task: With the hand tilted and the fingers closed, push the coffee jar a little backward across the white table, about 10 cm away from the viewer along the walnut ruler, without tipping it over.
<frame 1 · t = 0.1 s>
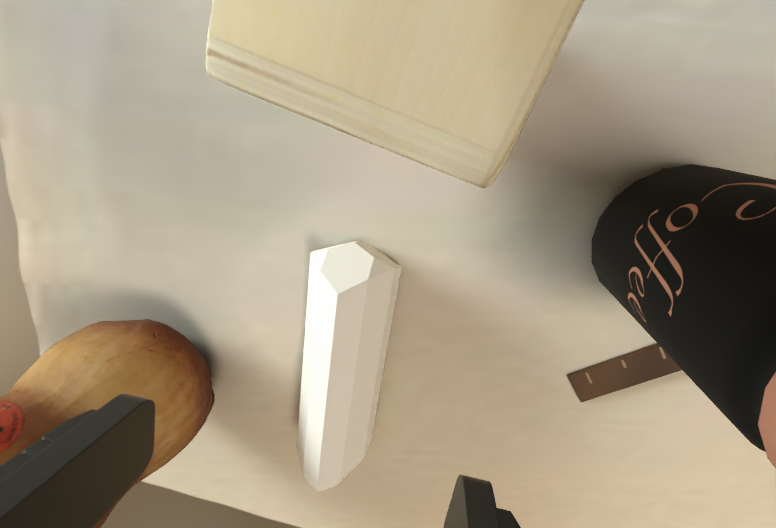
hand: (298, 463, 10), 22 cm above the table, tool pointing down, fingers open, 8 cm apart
coffee jar: (660, 235, 28), on the table
crystal: (347, 349, 36), on the table
beige tall block: (431, 60, 26), on the table
walnut ruler: (662, 357, 32), on the table
butternut squash: (172, 351, 39), on the table
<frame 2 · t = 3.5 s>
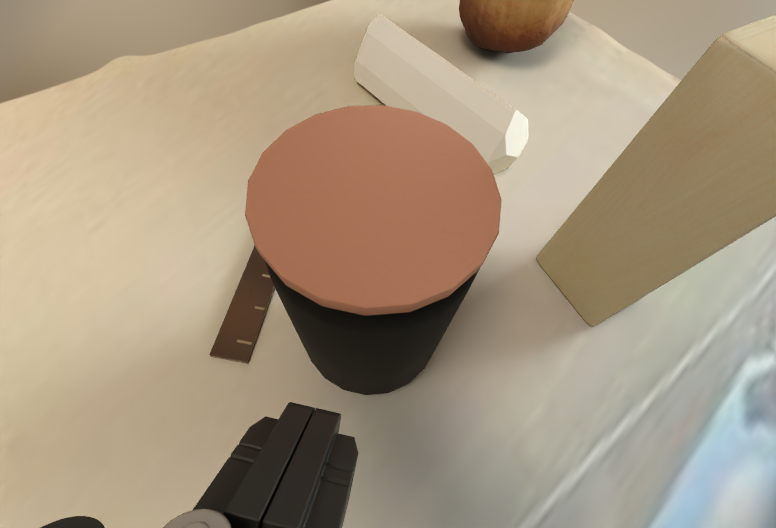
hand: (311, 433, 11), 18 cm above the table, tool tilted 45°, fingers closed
coffee jar: (370, 331, 32), on the table
crystal: (431, 117, 45), on the table
beige tall block: (590, 277, 35), on the table
walnut ruler: (261, 276, 33), on the table
butternut squash: (500, 46, 52), on the table
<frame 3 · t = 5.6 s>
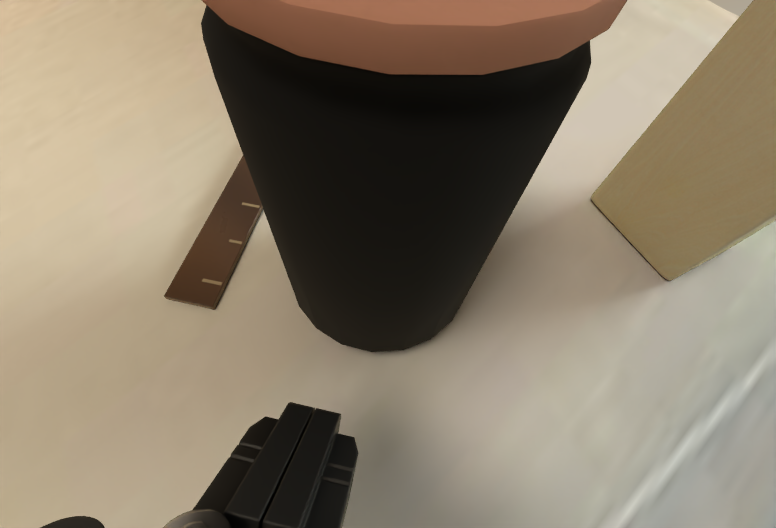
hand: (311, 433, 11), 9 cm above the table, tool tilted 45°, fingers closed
coffee jar: (379, 276, 24), on the table
beige tall block: (660, 224, 28), on the table
walnut ruler: (241, 206, 26), on the table
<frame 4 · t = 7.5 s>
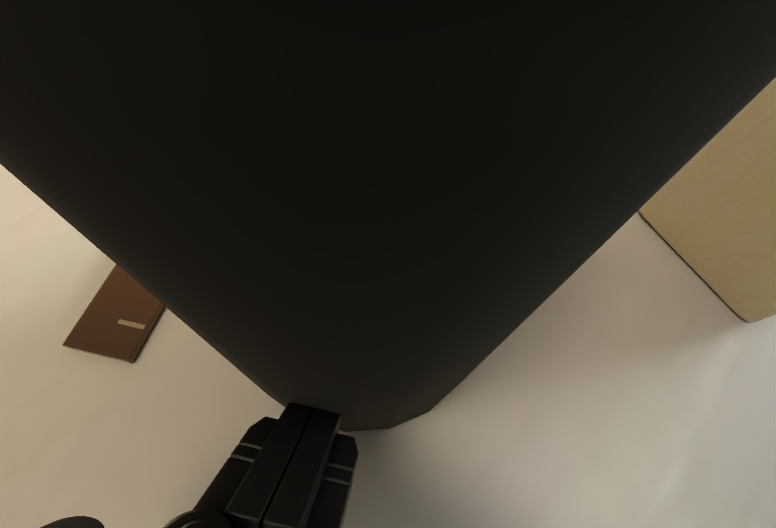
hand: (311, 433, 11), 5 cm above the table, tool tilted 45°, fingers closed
coffee jar: (362, 313, 18), on the table, touching gripper
beige tall block: (728, 243, 21), on the table
walnut ruler: (183, 218, 20), on the table
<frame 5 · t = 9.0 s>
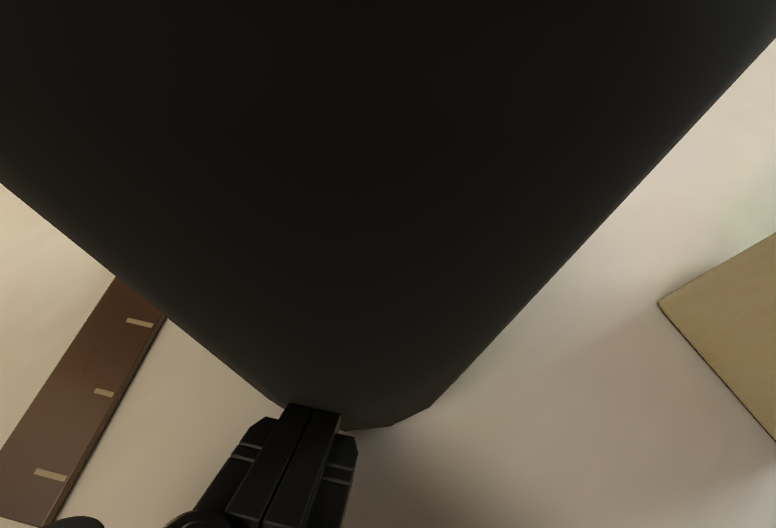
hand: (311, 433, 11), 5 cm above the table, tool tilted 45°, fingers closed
coffee jar: (358, 313, 18), on the table, touching gripper
beige tall block: (764, 344, 18), on the table
walnut ruler: (128, 322, 17), on the table
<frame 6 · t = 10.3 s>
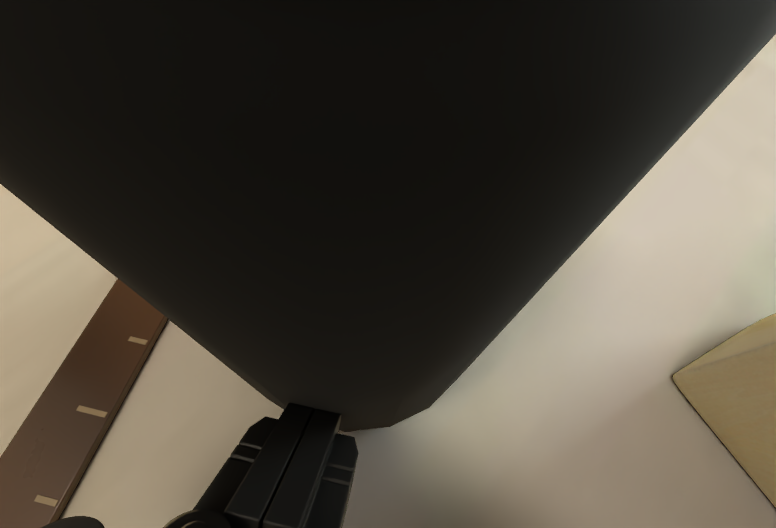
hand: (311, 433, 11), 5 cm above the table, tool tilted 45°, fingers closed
coffee jar: (358, 313, 18), on the table, touching gripper
walnut ruler: (80, 408, 15), on the table
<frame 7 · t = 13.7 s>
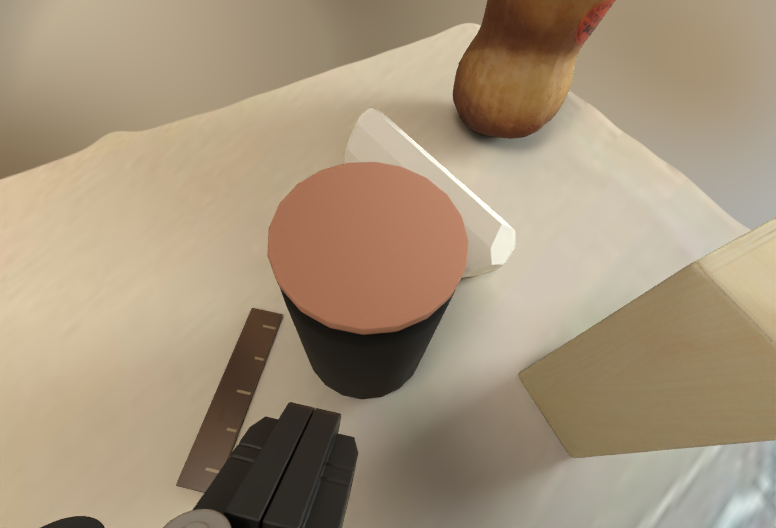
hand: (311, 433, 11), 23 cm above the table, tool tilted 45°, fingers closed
coffee jar: (365, 343, 36), on the table
crystal: (420, 206, 44), on the table
beige tall block: (573, 397, 34), on the table
walnut ruler: (236, 391, 33), on the table
butternut squash: (494, 125, 52), on the table
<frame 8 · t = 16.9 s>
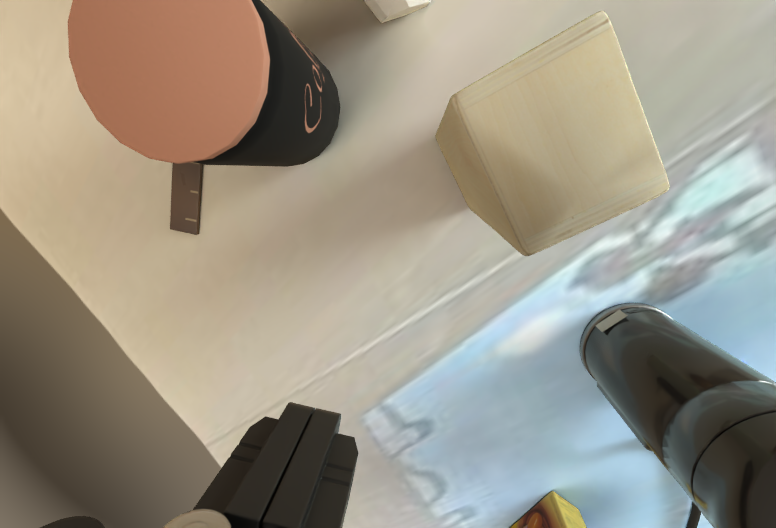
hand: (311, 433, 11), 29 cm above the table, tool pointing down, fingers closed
coffee jar: (289, 109, 37), on the table
beige tall block: (487, 155, 36), on the table
walnut ruler: (189, 160, 39), on the table
candy box: (539, 519, 45), on the table
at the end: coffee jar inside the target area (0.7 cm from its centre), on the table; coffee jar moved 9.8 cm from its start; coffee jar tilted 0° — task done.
